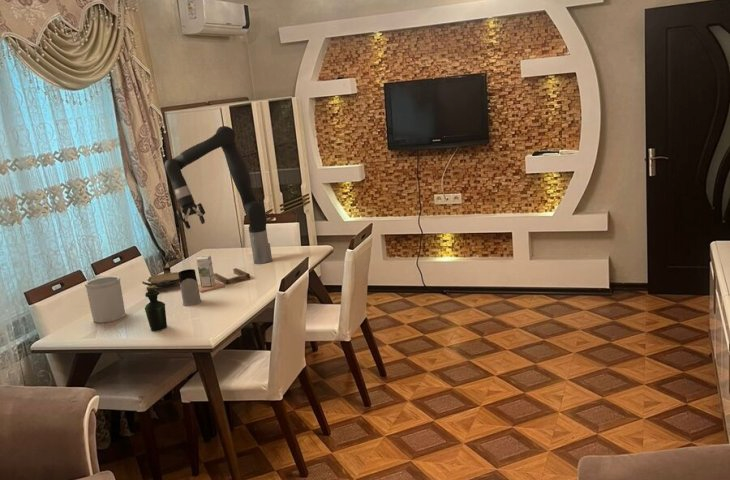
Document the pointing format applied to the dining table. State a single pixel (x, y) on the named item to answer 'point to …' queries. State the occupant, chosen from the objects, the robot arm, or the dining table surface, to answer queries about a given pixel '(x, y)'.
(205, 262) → the syrup box
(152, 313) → the potion bottle
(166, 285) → the oil lamp
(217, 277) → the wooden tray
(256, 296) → the dining table surface
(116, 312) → the utensil holder
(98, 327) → the dining table surface
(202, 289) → the terracotta pad
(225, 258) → the dining table surface
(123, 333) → the dining table surface
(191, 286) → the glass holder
